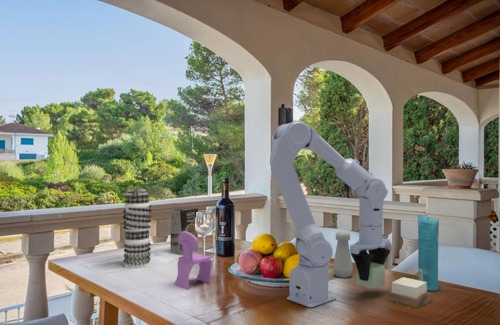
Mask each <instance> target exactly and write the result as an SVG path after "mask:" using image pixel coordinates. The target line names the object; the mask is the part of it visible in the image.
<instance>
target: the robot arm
mask: <svg viewBox="0 0 500 325" xmlns="http://www.w3.org/2000/svg"><path fill="white" fill-rule="evenodd" d="M271 142H272V144H271V150H270V157H269V164H270V165H269V166H270V167H271V170H272V173H273V175H274V178H275V180H276V183H277V185H278V188H279V190H280V194H281V196H282V198H283V201H284V203H285V206H286V209H287V211H288V214H289V217H290V219H291V222H292V225H293V226H294V233H293V235H294V237H295V238H294V239H295V250H296V252H297V254H298V255H299V258H298V264H297V265H296V266H294V267H293V268H292V269H291V270H290V273H289V278H288V279H289V281H288V282H289V283H288V287H289V292H288V293H289V296H287V297H286V299H287V300H289V301H291V302H294V303H296V304H300V305H302V306H304V307H307V308H314V307H317V306H319V305H323V304H326V303H329V302H332V301H335V300H336V299H337V297H336V296H335V295H334V296H333V295H331V294H329V262H330V261H331V260H332V256H333V247H332V245H331V243H330V242H329V241H328V240H327V239H326V238H325V237H324V234H323V232H322V230H321V229H320V228H319V227H318V225H317V224H316V222H315V218H314V216H313V214H312V211H311V209H310V206H309V204H308V200H307V198H306V196H305V192H304V190H303V187H302V185H301V183H300V180H299V177H298V175H297V171H296V169H295V166H294V162H295V160H296V158H297V156H298V154H299V153H300V152H301V151H302V150H308V151H311V152H312V153H314V154H316V156H318V157H319V158H321V159H322V160H324V161H325V162H326V163H328V164H329V165H330V166H331V167H332V168H334V169H335V173H336V174H335V175H336V176H337V177H338V179H340V180H342V181H343V182H344V183H345V184H346V185H347V186H349V187H350V188H351V189H352V190H353V191H354V192H355V195H356V197H358V198H359V204H358V205H359V206H358V207H359V211H358V214H359V218H358V220H359V221H358V222H359V224H358V226H359V227H358V228H359V231H358V241H356V242H355V243H352V244H350V245H349V249H350V255H351V258H352V259H353V261H354V263H355V267H356V266H357V270H358V274H359V278H360V280H364V281H368V279H369V272H370V265H371V262H373V263H377V264H382V265H385V263H386V260H387V258H388V257H389V255H390V253H391V249H389V247H390V244H391V241H390V239H387V238H383V219H384V218H383V213H384V212H383V211H384V209H383V207H384V201H385V199H386V197H387V195H388V193H389V189H387V187H386V184H385V182H383V180H381V179H379V178H374V174H373V173H372V172H371V171H367V170H366V169H365V168H364V167H362V166H361V165H360V163H361V162H360V161H359V160H358V159H353V158H352V157H351V158H349V157H348V158H344V156H343V155H341V153H339V152H338V151H337V150H336V149H335V148H334V147H333V146H332V145H330V144H329V143H328V142H327V140H325V139H324V138H323V137H322V136H321V135H320V134H319V133H318V132H317V131H316V129H314V128H312V127H311V126H309V125H308V124H307V123H306V122H305V121H302V120H293V121H292V122H289V123H283V124H280V125H279V126H278V127H277V129H276V130H275V132H274V133H273V135H272V137H271Z"/></svg>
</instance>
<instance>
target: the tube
mask: <svg viewBox="0 0 500 325" xmlns="http://www.w3.org/2000/svg"><path fill="white" fill-rule="evenodd" d="M439 226H440V218H439V217H438V218H436V217H430V216H426V215H421V214H417V240H418V241H417V247H418V248H417V255H418V257H417V260H418V262H417V265H418V267H417V268H418V269H417V274H418V275H417V276H418V277H417V278H418V279H417V280H419V281H424V282H427V291H438V290H439V229H440V228H439Z"/></svg>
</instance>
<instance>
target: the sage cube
mask: <svg viewBox="0 0 500 325" xmlns="http://www.w3.org/2000/svg"><path fill="white" fill-rule="evenodd" d="M385 266H386V265H385V264H384V265H382V264H377V263H373V262H371V265H370V272H369V279H368V281H364V280H360V278H359V274H358V270H357V266H356V265H355V267H356V268H355V269H356V273H355V275H356V276H355V279H356V281H355V282H356V285H359V286H363V287H366V288H370V289H372V290H373V289H376V288H379V287H383V286H385V284H386V283H385V281H386V280H385V277H386V276H385V274H386V272H385V271H386V270H385V269H386V267H385Z"/></svg>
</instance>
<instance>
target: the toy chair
mask: <svg viewBox="0 0 500 325" xmlns="http://www.w3.org/2000/svg"><path fill="white" fill-rule="evenodd" d="M178 240H179V243H180V244H181V245H182V250H183V254H182V256H178V261H177V275H176V280H175V282H174V284H173V286H175V285H176V286H175V287H178V286H179V287H178V288H182V289H184V290H187V291H190V282H189V281H190V280H189V279H190V274H191V271H192V269H193V267H194V266H195V265H198V267H199V271H198V274H197V277H196V279H195V280H198V281H200V282H205V283H207V284H212V265H213V262H212V257H211V256H209V255H208V256H207V255H202V254H200V253H194V252H196V251H195V250H197V249H198V250H199V238H198V239H197V238H196V237H195V236H194V235H193V234H191V233H189V232H186V231H183V232H181V233H180V234H179V236H178ZM198 250H197V251H198Z"/></svg>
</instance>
